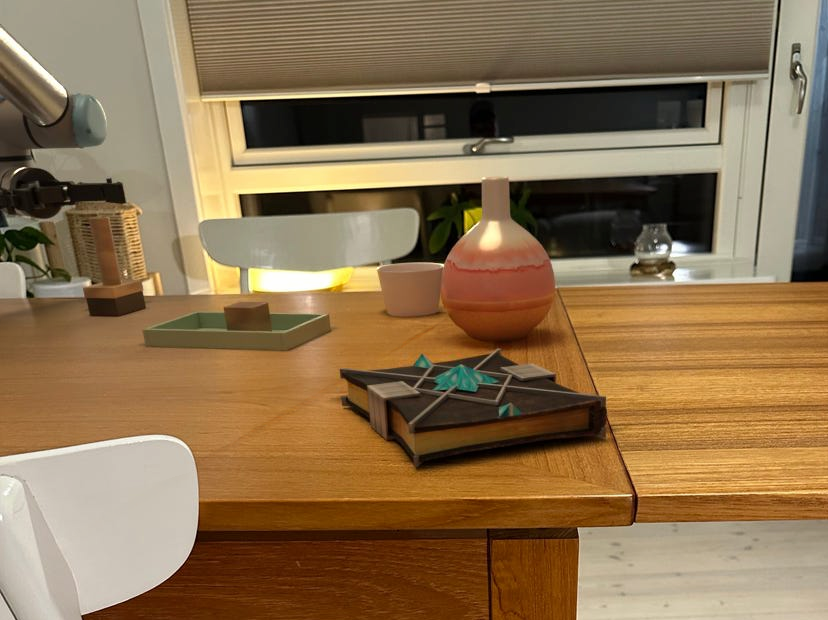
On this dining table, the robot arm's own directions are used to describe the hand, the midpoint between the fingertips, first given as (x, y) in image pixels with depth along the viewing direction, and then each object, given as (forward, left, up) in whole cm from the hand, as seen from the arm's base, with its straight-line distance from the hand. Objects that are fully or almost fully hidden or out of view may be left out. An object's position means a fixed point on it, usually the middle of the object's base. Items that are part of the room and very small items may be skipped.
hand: (77, 197), depth 141 cm
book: (+76, -52, -16) cm, 94 cm away
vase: (+69, -16, -16) cm, 73 cm away
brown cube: (+39, -23, -15) cm, 48 cm away
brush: (+6, -4, -15) cm, 17 cm away
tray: (+38, -23, -15) cm, 47 cm away
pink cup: (+53, -3, -16) cm, 56 cm away
